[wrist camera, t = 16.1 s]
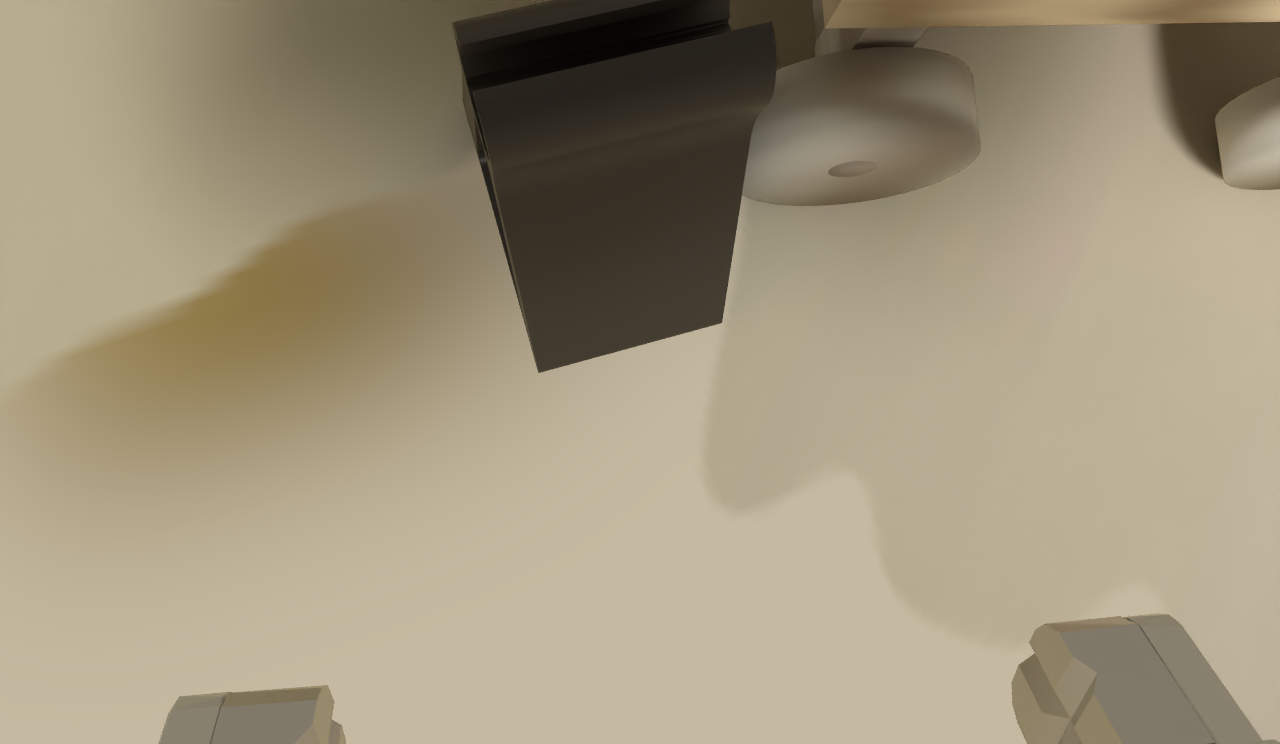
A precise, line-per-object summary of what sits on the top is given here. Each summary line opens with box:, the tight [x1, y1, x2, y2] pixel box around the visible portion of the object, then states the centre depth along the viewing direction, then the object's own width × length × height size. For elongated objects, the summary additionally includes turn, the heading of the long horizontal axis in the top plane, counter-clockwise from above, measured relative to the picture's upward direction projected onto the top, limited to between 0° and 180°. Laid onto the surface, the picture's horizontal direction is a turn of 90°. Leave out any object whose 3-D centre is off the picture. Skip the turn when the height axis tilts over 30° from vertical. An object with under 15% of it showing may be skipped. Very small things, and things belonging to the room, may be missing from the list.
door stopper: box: [452, 0, 776, 373], centre depth 23 cm, size 9×6×12 cm, turn 16°
